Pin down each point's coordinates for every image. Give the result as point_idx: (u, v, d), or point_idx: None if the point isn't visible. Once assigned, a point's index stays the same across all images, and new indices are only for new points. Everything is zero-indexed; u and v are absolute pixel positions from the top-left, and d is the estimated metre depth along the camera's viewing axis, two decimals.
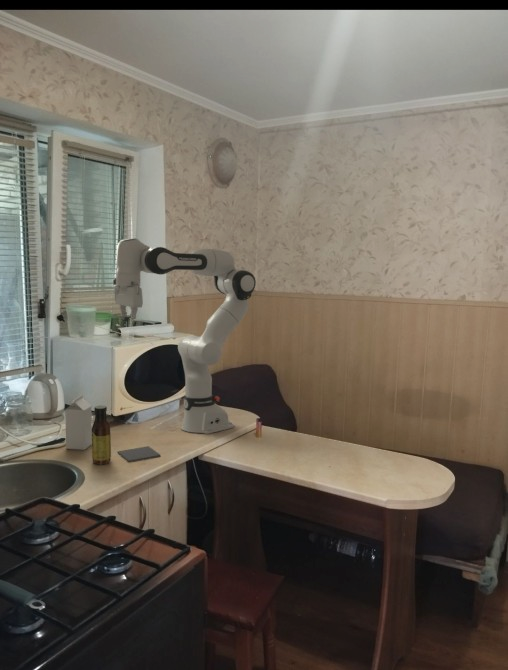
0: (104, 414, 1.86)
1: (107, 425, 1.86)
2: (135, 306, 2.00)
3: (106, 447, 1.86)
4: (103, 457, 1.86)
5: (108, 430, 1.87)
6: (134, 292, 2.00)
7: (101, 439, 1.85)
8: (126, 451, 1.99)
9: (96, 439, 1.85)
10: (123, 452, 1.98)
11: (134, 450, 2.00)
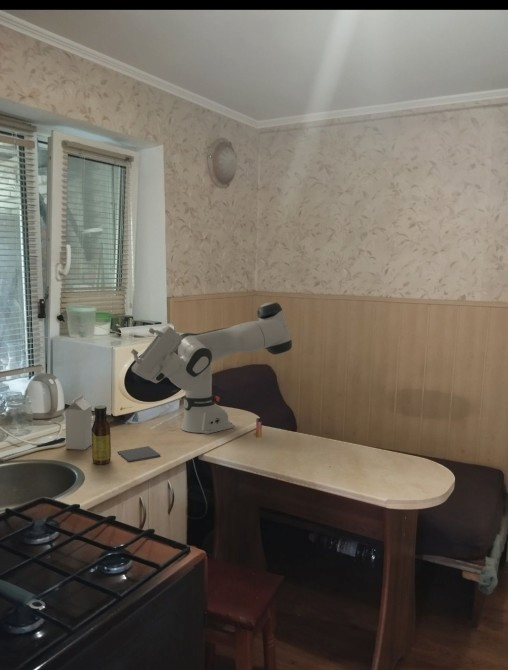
0: (104, 414, 1.86)
1: (107, 425, 1.86)
2: None
3: (106, 447, 1.86)
4: (103, 457, 1.86)
5: (108, 430, 1.87)
6: None
7: (101, 439, 1.85)
8: (126, 451, 1.99)
9: (96, 439, 1.85)
10: (123, 452, 1.98)
11: (134, 450, 2.00)
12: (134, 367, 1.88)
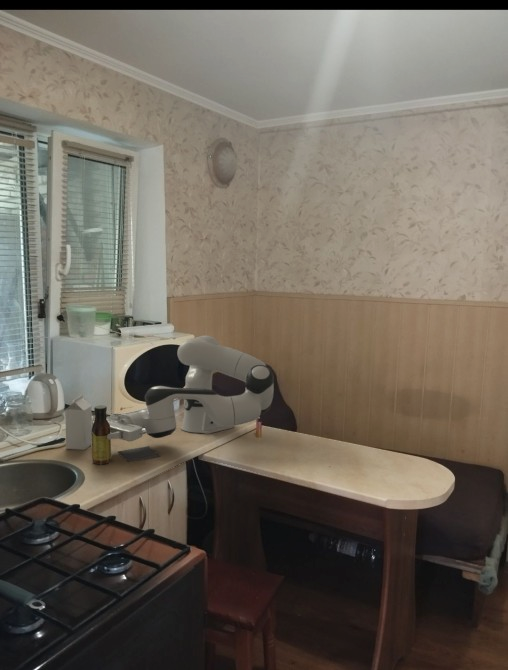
0: (104, 414, 1.86)
1: (107, 425, 1.86)
2: (130, 433, 1.86)
3: (106, 447, 1.86)
4: (103, 457, 1.86)
5: (108, 430, 1.87)
6: (140, 429, 1.90)
7: (101, 439, 1.85)
8: (126, 451, 1.99)
9: (96, 439, 1.85)
10: (123, 452, 1.98)
11: (134, 450, 2.00)
12: None
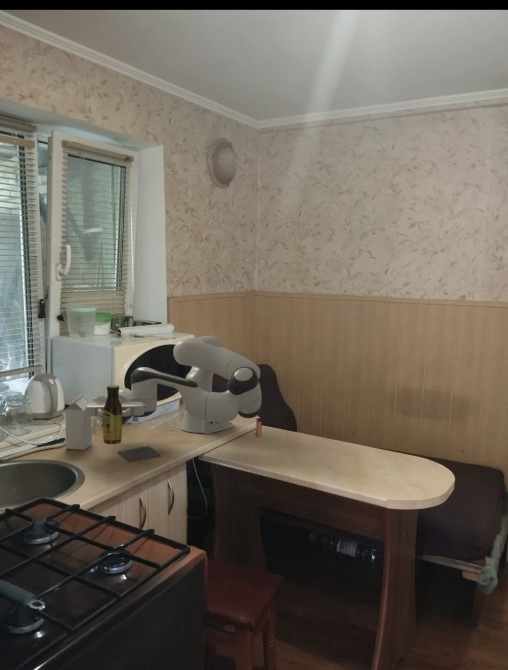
0: (118, 393, 1.86)
1: (120, 403, 1.87)
2: (142, 407, 1.92)
3: (121, 425, 1.87)
4: (120, 436, 1.87)
5: None
6: (143, 403, 1.97)
7: (119, 418, 1.85)
8: (126, 451, 1.99)
9: (115, 418, 1.84)
10: (123, 452, 1.98)
11: (134, 450, 2.00)
12: (88, 412, 1.90)
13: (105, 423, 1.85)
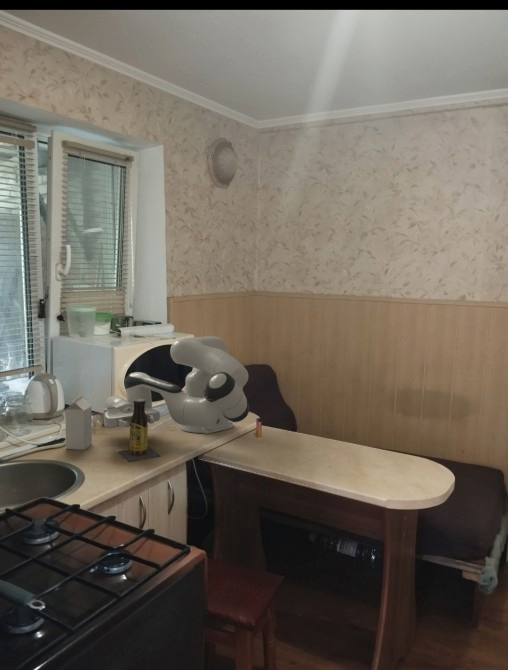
0: None
1: None
2: (159, 413, 2.05)
3: None
4: None
5: None
6: None
7: (147, 429, 1.96)
8: (126, 451, 1.99)
9: (144, 429, 1.94)
10: (123, 452, 1.98)
11: None
12: (111, 423, 1.94)
13: (135, 436, 1.93)
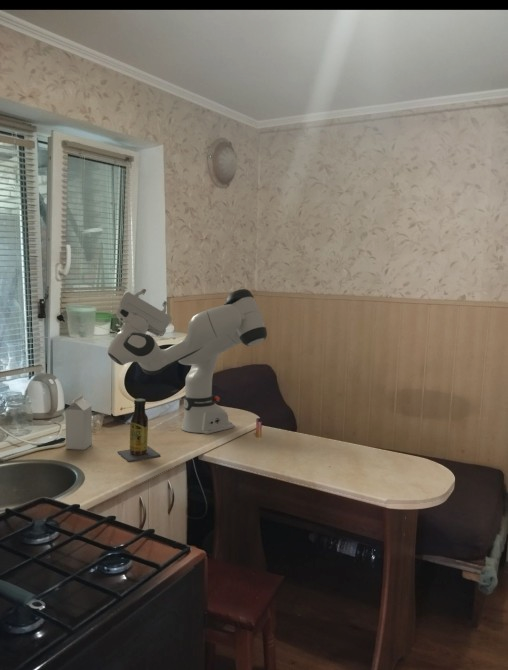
0: None
1: None
2: None
3: None
4: None
5: None
6: None
7: (147, 429, 1.96)
8: (126, 451, 1.99)
9: (145, 429, 1.95)
10: (123, 452, 1.98)
11: None
12: None
13: (135, 435, 1.94)
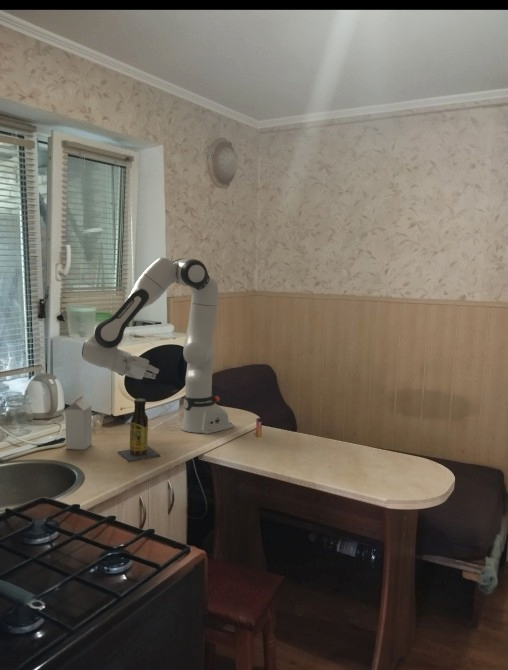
0: None
1: None
2: (146, 366, 2.04)
3: None
4: None
5: None
6: (132, 363, 2.04)
7: (147, 429, 1.96)
8: (126, 451, 1.99)
9: (145, 429, 1.95)
10: (123, 452, 1.98)
11: None
12: None
13: (135, 435, 1.94)
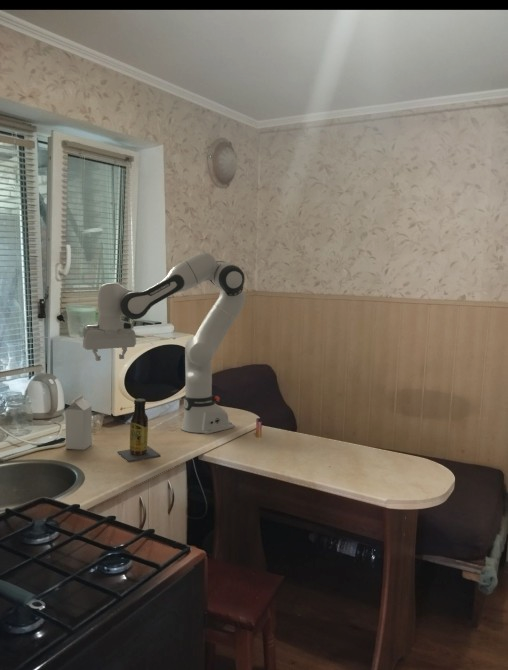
0: None
1: None
2: (84, 347, 2.08)
3: None
4: None
5: None
6: None
7: (147, 429, 1.96)
8: (126, 451, 1.99)
9: (145, 429, 1.95)
10: (123, 452, 1.98)
11: None
12: None
13: (135, 435, 1.94)
